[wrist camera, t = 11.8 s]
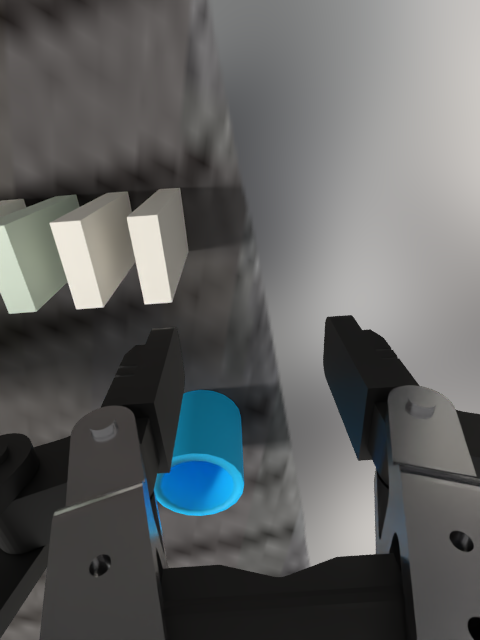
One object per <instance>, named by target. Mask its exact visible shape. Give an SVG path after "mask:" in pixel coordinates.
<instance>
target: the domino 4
mask: <svg viewBox="0 0 480 640" xmlns="http://www.w3.org/2000/svg"><path fill="white" fill-rule="evenodd" d="M127 222H128V227H129V232H130V236H131V241H132V246H133V251H134V256H135V260H136V265H137V270H138V275H139V280H140V284H141V289H142V294H143V299H144V304H157V303H171V302H172V301H173V298H174V295H175V292H176V289H177V286H178V283H179V280H180V276H181V273H182V270H183V267H184V264H185V261H186V258H187V255H188V252H189V250H188V243H187V235H186V228H185V220H184V213H183V205H182V198H181V190H180V188H168V189H159V190H158V191H156V192H155V193H154V194H153V195H152V196H151V197H149V198H148V199H147V200H146V201H145V202H144V203H142V204H141V205H140V206H139V207H138V208H137V209H135V210H134V211H133V212H132V213H131V214H129V215H128V216H127Z"/></svg>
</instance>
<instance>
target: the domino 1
mask: <svg viewBox="0 0 480 640" xmlns="http://www.w3.org/2000/svg"><path fill="white" fill-rule="evenodd" d="M24 208H26V205H25V202H24V199H15V200H2V201H0V217H3V216H5V215H8V214H11V213H13V212H16V211H18V210H21V209H24Z"/></svg>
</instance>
